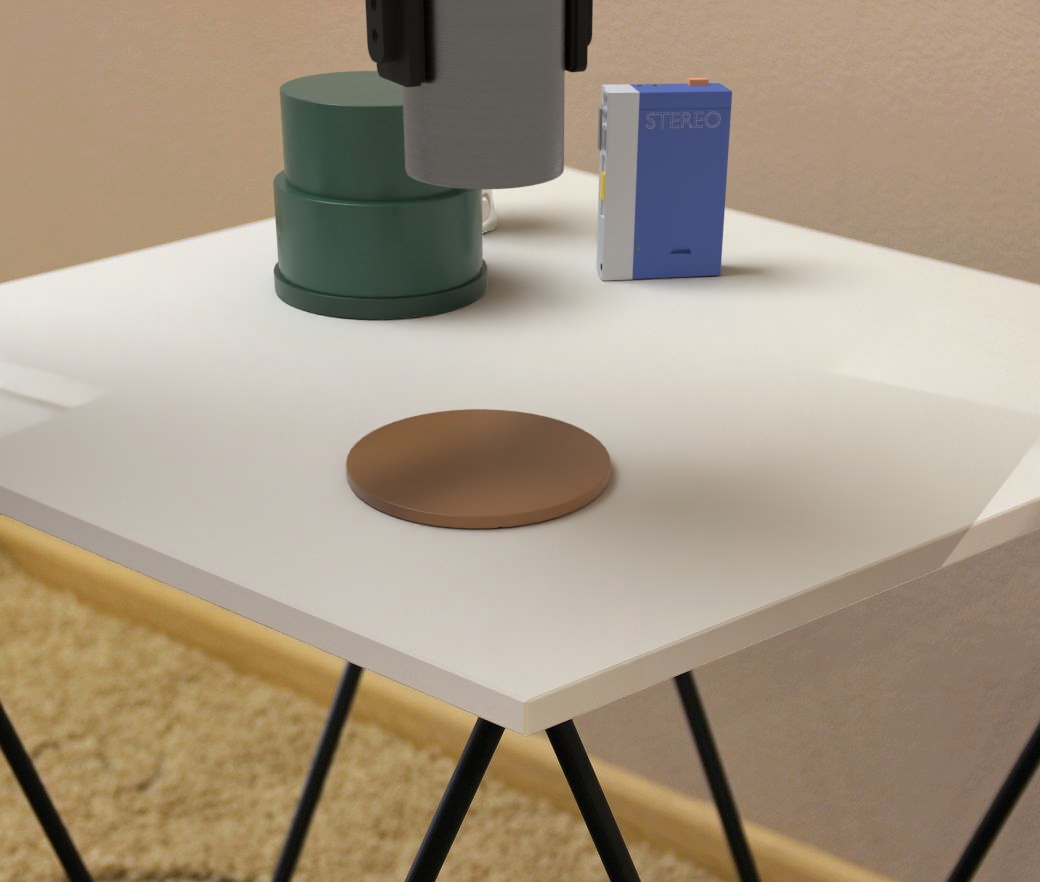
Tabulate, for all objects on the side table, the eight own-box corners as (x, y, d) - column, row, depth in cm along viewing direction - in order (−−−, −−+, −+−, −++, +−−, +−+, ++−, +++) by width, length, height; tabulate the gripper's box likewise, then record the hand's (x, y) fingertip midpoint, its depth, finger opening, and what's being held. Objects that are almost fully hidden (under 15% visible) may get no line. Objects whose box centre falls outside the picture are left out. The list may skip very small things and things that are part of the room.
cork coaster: (291, 487, 67) (290, 475, 67) (443, 402, 77) (443, 391, 77) (523, 554, 62) (523, 541, 62) (655, 453, 72) (656, 442, 72)
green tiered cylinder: (229, 294, 92) (213, 91, 86) (360, 244, 102) (353, 60, 97) (407, 334, 86) (401, 119, 81) (526, 276, 96) (528, 83, 91)
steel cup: (373, 176, 62) (362, -57, 59) (462, 146, 68) (457, -70, 64) (510, 197, 60) (508, -46, 56) (592, 164, 65) (595, -60, 61)
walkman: (708, 263, 100) (719, 76, 95) (720, 276, 98) (733, 85, 92) (591, 268, 98) (596, 78, 93) (600, 280, 96) (606, 86, 91)
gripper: (625, -413, 61) (615, 46, 69) (204, -449, 53) (246, 76, 61) (735, -431, 55) (711, 72, 63) (281, -474, 47) (317, 110, 55)
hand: (483, 70), depth 62 cm, fingers closed on steel cup, 6 cm apart
